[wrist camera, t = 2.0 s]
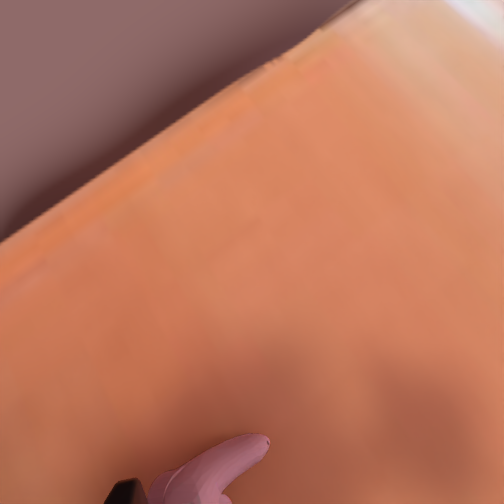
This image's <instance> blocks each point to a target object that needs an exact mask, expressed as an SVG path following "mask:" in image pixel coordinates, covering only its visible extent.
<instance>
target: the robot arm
mask: <svg viewBox="0 0 504 504" xmlns="http://www.w3.org/2000/svg"><path fill="white" fill-rule="evenodd" d="M104 504H149V503H148V500H147V498H146V495H145V492H144V490H143V487H142V485H141V482H140V480H139V479H138V478H131V479H126V480H121V481H118V482H117V483H116V484H115V485H114V487H113V488H112V490H111V492H110V493H109V495H108V497H107V499H106V500H105V502H104Z"/></svg>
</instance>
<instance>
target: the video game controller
mask: <svg viewBox="0 0 504 504" xmlns="http://www.w3.org/2000/svg"><path fill="white" fill-rule="evenodd" d="M269 446H270V440H269V439H268V437H267V436H265V435H262V434H258V433H256V434H253V433H250V434H245V435H241V436H238V437H235V438H232V439H229V440H227V441H224V442H222V443H220V444H218V445H216V446H214V447H212V448H210V449H208V450H206V451H205V452H203V453H201V454H199V455H198V456H196V457H195V458H193V459H192V460H190V461H188V462H187V463H185V464H184V465H182V466H180V467H179V468H177V469H176V470H171V471H166V472H164V473H162V474H161V475H159V476H158V477H157V478H156V479H155V480H154V482H153V484H152V485H151V488H150V490H149V493H148V497H147V500H148V503H149V504H232V502H231V500H230V499H229V498H228V496H227V495H224V494H221V493H222V492H223V490H224V489H225V488H226V487H227V486H228V485H229V484H230V483H231V482H232V481H233V480H235V479H236V478H237V477H238V476H239V475H241V474H242V473H244V472H245V471H247V470H248V469H249V468H251V467H252V466H254V465H255V464H257V463H258V462H259V461H261V459H262V458H263V457H264V455H265V454H266V453H267V451H268V449H269Z"/></svg>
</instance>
